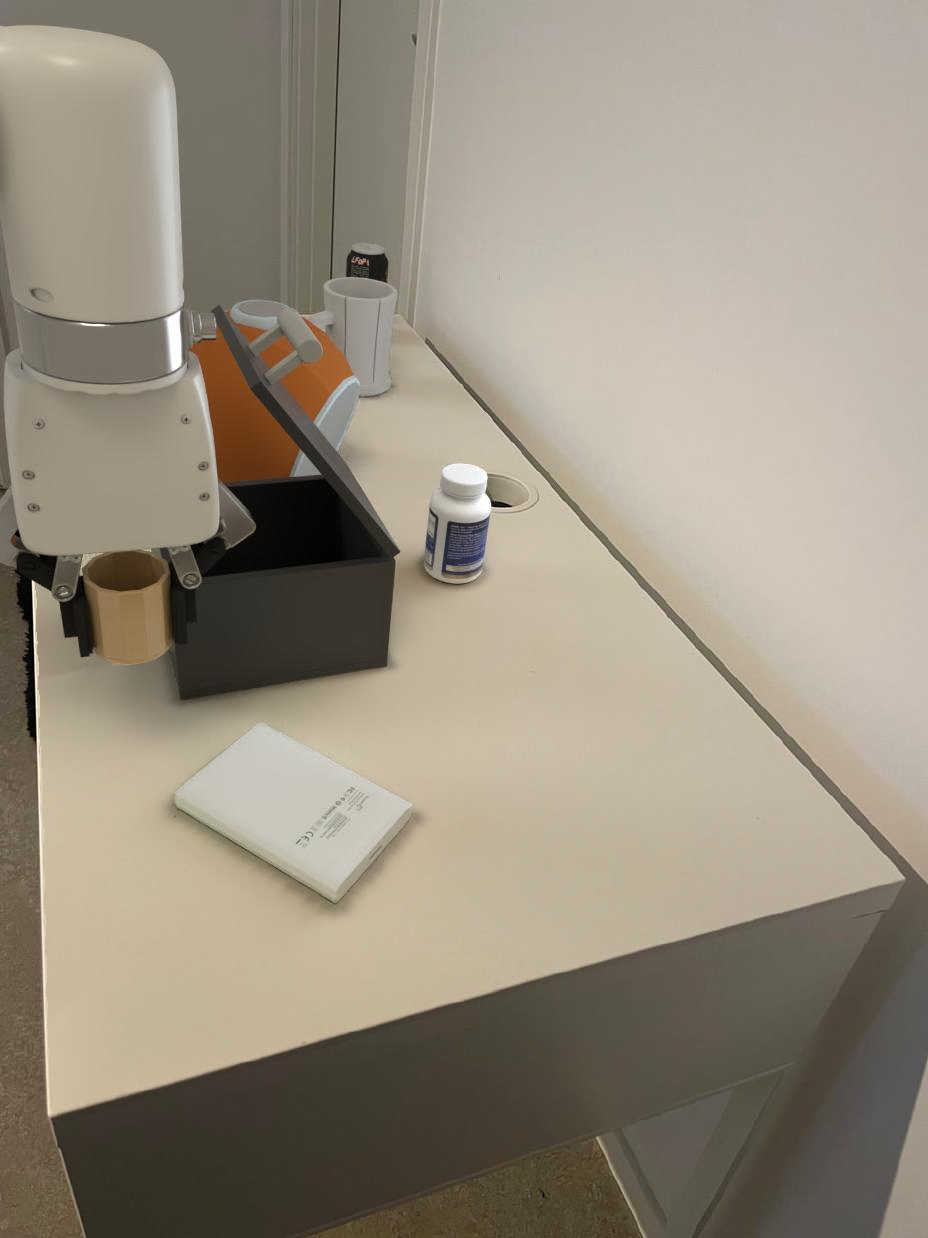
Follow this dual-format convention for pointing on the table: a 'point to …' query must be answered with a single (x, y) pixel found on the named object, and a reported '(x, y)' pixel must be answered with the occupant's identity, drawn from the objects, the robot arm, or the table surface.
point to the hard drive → (295, 809)
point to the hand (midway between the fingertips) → (132, 634)
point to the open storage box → (288, 595)
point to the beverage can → (367, 262)
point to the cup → (361, 327)
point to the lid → (299, 407)
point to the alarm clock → (244, 423)
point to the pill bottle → (458, 525)
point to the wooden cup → (129, 606)
